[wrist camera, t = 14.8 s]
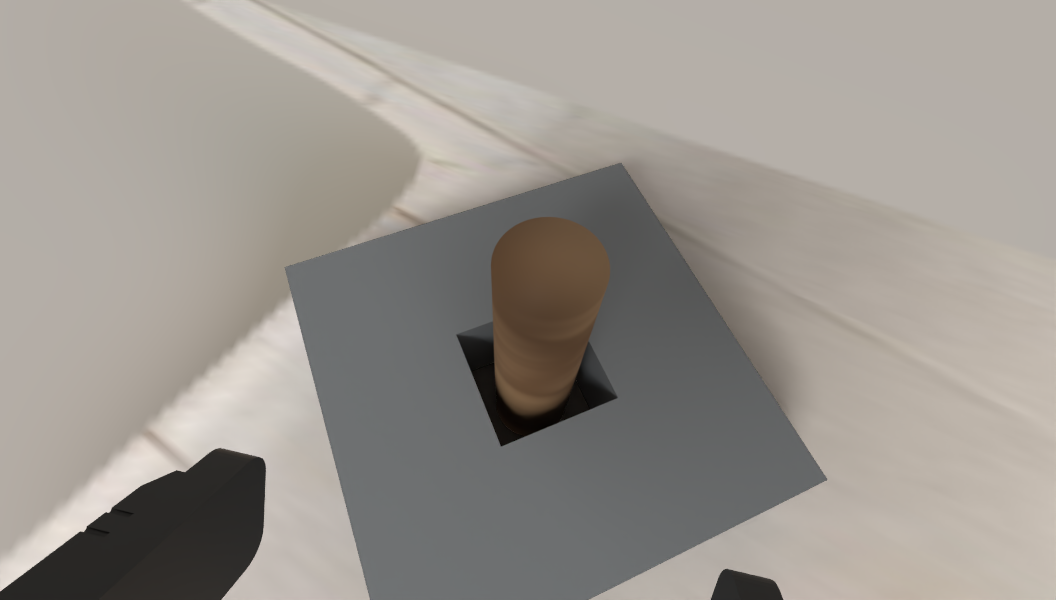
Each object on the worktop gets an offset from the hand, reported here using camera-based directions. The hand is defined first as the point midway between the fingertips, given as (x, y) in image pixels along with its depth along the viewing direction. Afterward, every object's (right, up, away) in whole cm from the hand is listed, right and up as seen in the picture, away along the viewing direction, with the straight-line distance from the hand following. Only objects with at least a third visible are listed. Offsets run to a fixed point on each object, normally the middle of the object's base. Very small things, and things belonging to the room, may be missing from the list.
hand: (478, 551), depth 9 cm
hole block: (+1, 0, +16) cm, 16 cm away
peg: (+1, 0, +16) cm, 16 cm away
